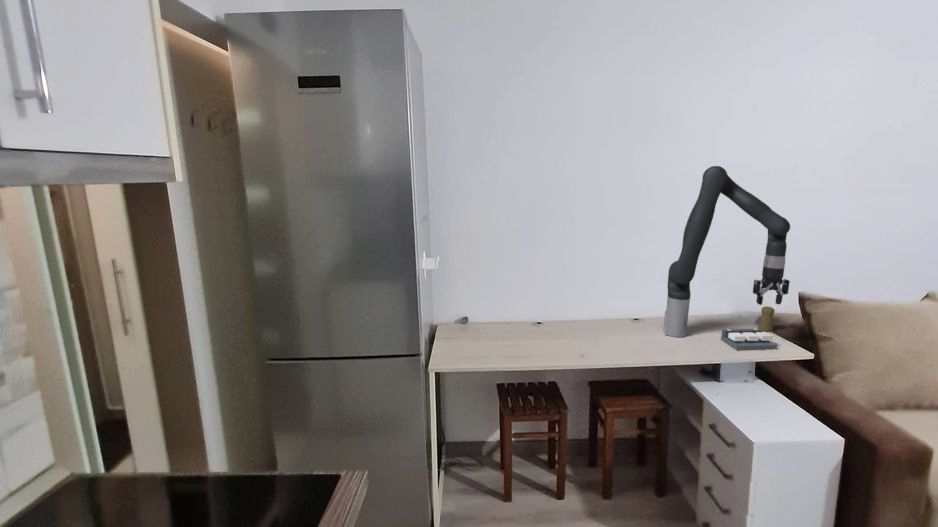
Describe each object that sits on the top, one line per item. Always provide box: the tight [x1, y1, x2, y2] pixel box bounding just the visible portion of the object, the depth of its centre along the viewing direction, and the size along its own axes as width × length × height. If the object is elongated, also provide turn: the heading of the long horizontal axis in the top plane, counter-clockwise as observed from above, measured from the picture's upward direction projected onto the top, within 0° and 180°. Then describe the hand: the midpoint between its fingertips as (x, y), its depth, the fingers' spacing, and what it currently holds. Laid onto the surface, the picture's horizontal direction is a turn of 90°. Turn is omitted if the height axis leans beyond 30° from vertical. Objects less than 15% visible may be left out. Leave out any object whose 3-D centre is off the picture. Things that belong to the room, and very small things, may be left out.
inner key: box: [728, 333, 746, 341], centre depth 210 cm, size 5×5×2 cm
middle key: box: [742, 332, 759, 341], centre depth 211 cm, size 5×5×2 cm
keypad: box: [720, 327, 778, 351], centre depth 212 cm, size 17×12×5 cm
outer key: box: [756, 332, 774, 342], centre depth 211 cm, size 5×5×2 cm
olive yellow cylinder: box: [757, 306, 775, 333], centre depth 229 cm, size 6×6×11 cm
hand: (768, 304), depth 208 cm, fingers open, 7 cm apart
